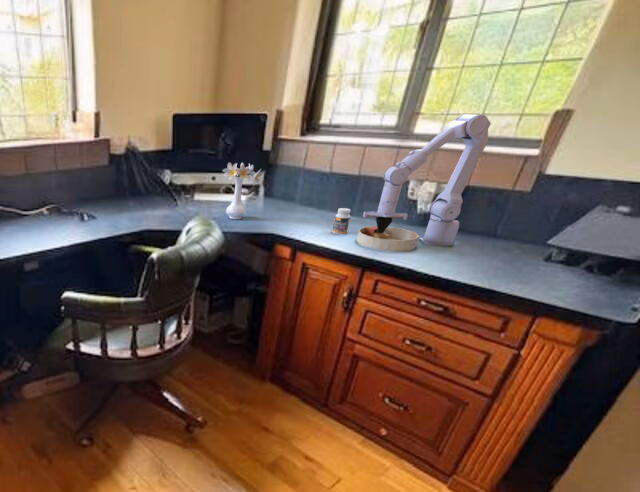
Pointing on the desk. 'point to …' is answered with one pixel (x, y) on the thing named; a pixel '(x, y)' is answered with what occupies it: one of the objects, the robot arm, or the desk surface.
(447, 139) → the robot arm
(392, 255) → the desk surface
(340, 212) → the pill bottle
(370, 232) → the terracotta block
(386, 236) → the beech block
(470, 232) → the desk surface
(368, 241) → the bowl
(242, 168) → the flower vase
